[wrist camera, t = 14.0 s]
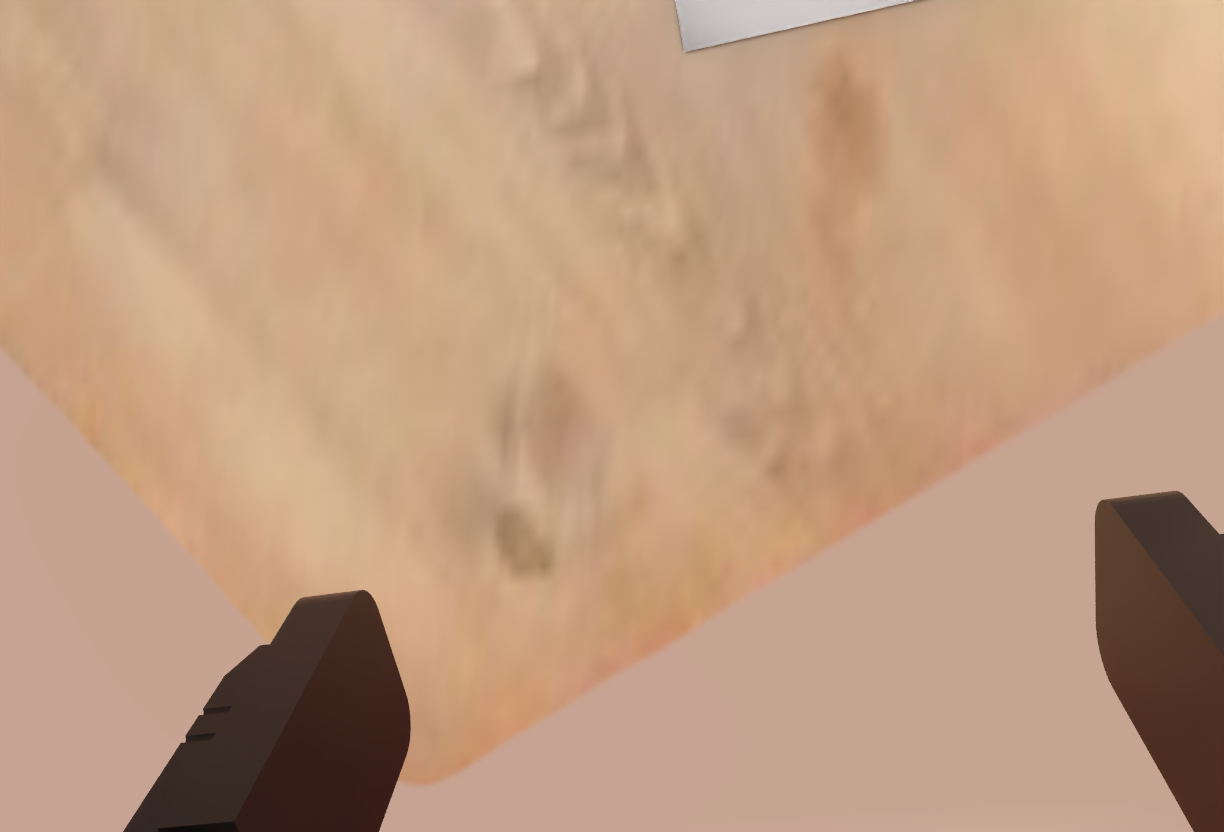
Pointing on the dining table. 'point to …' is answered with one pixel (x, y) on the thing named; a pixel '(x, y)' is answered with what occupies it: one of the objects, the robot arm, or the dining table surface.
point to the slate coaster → (759, 17)
